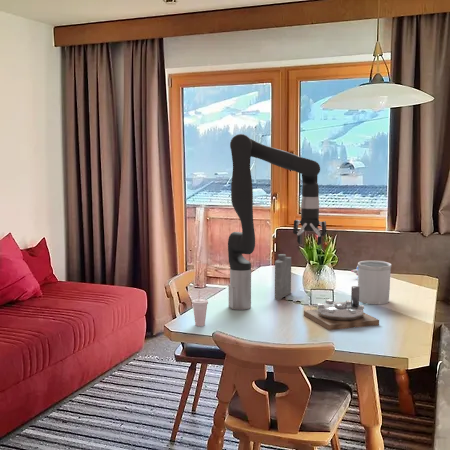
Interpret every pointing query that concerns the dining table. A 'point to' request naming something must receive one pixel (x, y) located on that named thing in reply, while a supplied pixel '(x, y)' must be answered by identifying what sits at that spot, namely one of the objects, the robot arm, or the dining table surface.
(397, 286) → the dining table surface
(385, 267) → the utensil holder
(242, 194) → the robot arm
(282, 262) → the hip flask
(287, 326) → the dining table surface
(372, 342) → the dining table surface
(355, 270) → the blue toy figure
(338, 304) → the silver round piece
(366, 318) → the brown wooden board
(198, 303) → the smoothie
